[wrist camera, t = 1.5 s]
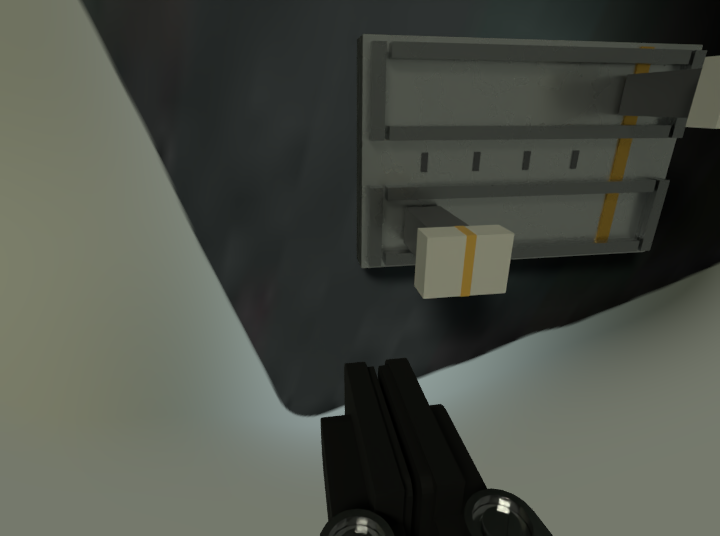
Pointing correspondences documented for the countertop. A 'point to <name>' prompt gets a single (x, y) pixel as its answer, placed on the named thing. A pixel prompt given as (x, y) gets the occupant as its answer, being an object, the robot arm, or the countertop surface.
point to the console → (511, 141)
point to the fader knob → (456, 254)
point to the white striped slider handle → (676, 94)
